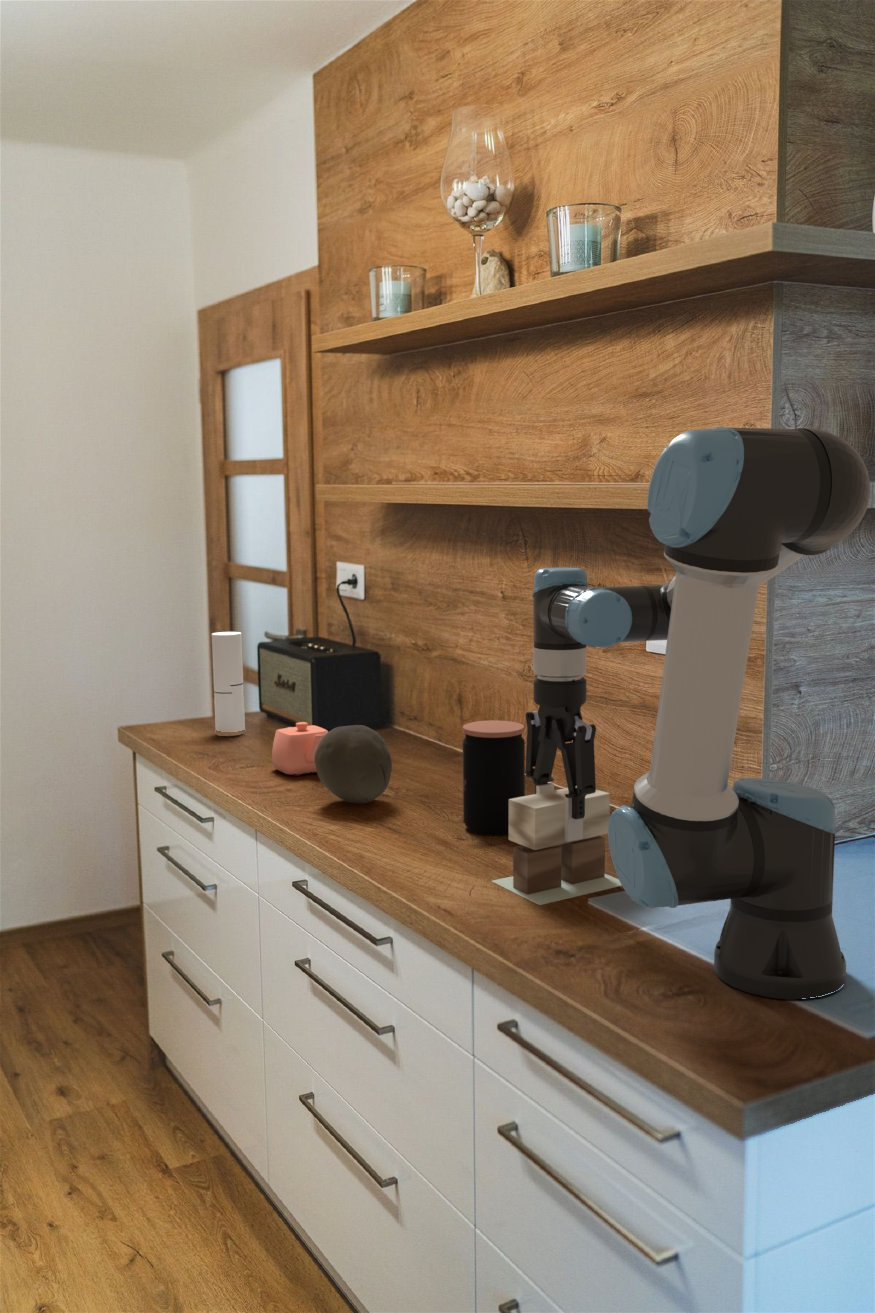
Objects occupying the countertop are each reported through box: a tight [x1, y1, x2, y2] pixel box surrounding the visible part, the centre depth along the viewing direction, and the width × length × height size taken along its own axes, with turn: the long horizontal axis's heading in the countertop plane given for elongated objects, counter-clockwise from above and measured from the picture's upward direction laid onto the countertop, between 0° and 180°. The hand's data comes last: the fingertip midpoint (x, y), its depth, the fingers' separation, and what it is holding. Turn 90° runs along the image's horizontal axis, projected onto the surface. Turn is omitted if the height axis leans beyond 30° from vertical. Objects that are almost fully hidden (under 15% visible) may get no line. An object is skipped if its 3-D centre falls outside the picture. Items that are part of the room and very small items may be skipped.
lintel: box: [508, 786, 611, 850], centre depth 166 cm, size 6×14×6 cm, turn 124°
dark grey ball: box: [315, 724, 393, 805], centre depth 216 cm, size 14×14×15 cm
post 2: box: [559, 835, 606, 884], centre depth 169 cm, size 4×6×6 cm, turn 121°
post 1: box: [512, 845, 561, 895], centre depth 165 cm, size 4×6×6 cm, turn 121°
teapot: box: [271, 721, 329, 776], centre depth 243 cm, size 11×18×10 cm, turn 30°
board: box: [491, 873, 622, 906], centre depth 168 cm, size 12×16×1 cm
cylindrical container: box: [211, 631, 246, 732], centre depth 281 cm, size 7×7×25 cm
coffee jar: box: [462, 719, 526, 836], centre depth 199 cm, size 11×11×18 cm
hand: (559, 833), depth 167 cm, fingers closed on lintel, 6 cm apart
